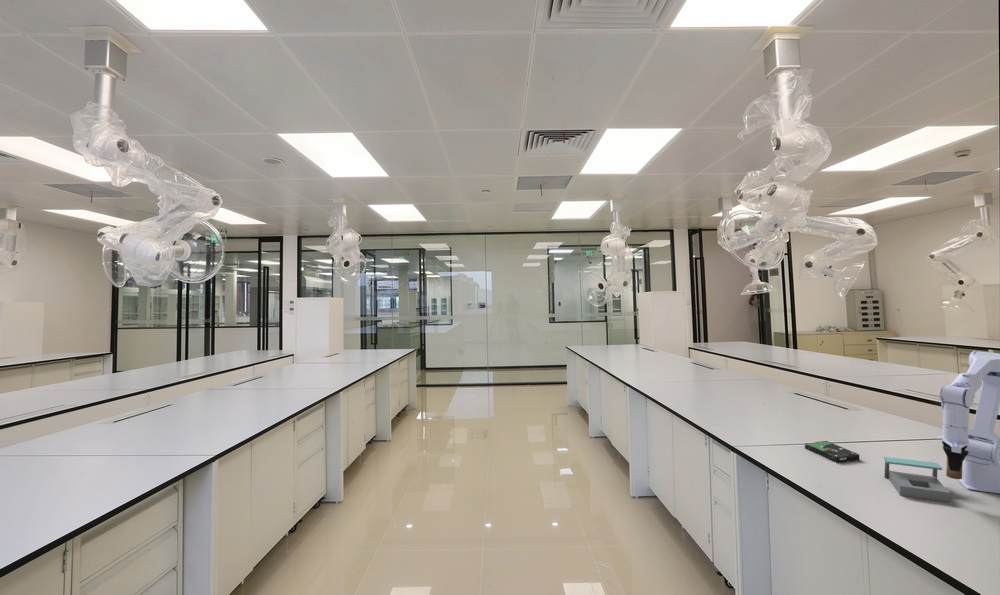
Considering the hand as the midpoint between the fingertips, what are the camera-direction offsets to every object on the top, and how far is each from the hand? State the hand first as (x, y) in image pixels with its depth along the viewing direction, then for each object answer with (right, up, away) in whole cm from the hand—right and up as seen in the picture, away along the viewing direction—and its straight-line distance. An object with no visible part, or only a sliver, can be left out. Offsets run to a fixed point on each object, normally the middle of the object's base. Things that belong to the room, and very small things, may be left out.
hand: (954, 468), depth 147 cm
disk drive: (-12, -9, +38) cm, 40 cm away
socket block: (-5, -10, +7) cm, 13 cm away
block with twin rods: (-2, -9, +12) cm, 16 cm away
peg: (0, -3, 0) cm, 3 cm away
